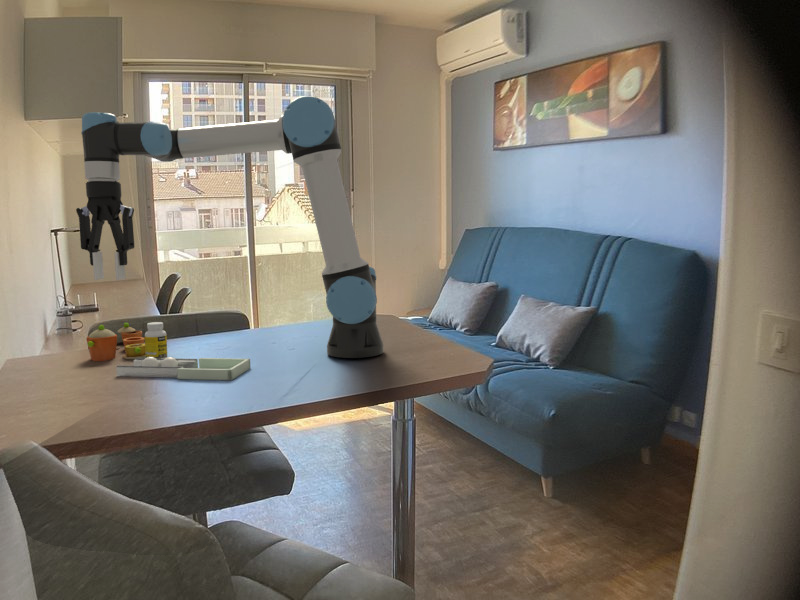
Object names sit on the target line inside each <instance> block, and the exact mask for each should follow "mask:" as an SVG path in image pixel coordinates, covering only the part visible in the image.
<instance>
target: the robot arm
mask: <svg viewBox="0 0 800 600" xmlns="http://www.w3.org/2000/svg"><path fill="white" fill-rule="evenodd" d="M80 134H81V137H82V147H83V163H84V177H85V179H86V180H88V181H86V182H85V191H86V198H87V203H86V206H83V207H76V209H75V213H76V214H77V217H78V222H79V237H80V239H79V240H80V249H82V250H84V251H87V252H89V262H90V266H92V267H93V268H92V269H93V278H94V280H95V281H97V280H104V279H105V275H104V260H103V259H104V258H103V252H102V251H101V249H100V245H101V240H102V239H101V238H102V234H103V233H102V232H103V227H104V224H105V221H107V224H108V225H109V227H110V230H111V234H112V237H113V240H114V244H115V247H116V250H115V252H114V253H113V255H114V267H115V268H114V269H115V280H116V281H119V280H125V279H126V269H125V267H126V266H127V265H128V254H127V253H128V251H130V250H133V249H135V236H134V233H135V232H134V221H133V219H134V218H133V217H134V213H135V208H134V207H132V206H131V207H129V206H126V205H124V204H123V201H122V185H121V182H119V180H121V171H120V170H121V169H120V168H121V167H120V156H144V157H148V158H151V159H155V160H158V161H159V162H166V163H168V162H175V161H176V160H182V159H191V158H201V157H202V158H203V157H204V158H206V157H216V156H217V157H218V156H225V155H228V156H229V155H237V154H250V153H262V152H263V153H264V152H275V151H283V152H284V153H286V154H291V155H292V160H293V162H294V163H295V164H297V165H299V166H300V167H301V169H302V172H303V177H304V181H305V185H306V189H307V190H306V191H307V193H308V198H309V201H310V202H309V203H310V206H311V209H312V214H313V218H314V222H315V227H316V230H317V234H318V238H319V241H320V246H321V250H322V255H323V258H324V263H325V267H324V269H323V271H322V272H321V277H322V281H323V282H322V283H323V286H324V289H325V292H326V293H325V294H326V297H325V298H326V301H325V302H326V303H325V304H326V307H327V310H328V311H329V313H330V315H331V316H332V328H331V330H330V334H329V337H328V340H327V344H326V354H327V355H328V356H331V357H336V358H343V359H344V358H346V359H361V358H370V357H375V356H379V355H381V354H383V353H384V343H383V338H382V336H381V333H380V330H379V327H378V324H377V303H378V301H377V300H378V299H377V284H376V283H377V282H376V281H377V275H376V274H377V273H376V269H375V268H374V267H372V266H369V262H368V261H367V260H365V259H363V258H362V257H361V255H360V250H359V246H358V241H357V237H356V232H355V228H354V225H353V220H352V217H351V213H350V208H349V203H348V199H347V195H346V191H345V187H344V184H343V183H344V182H343V179H342V178H343V177H342V174H341V170H340V167H339V162H338V159H339V157H340V155H341V153H342V147H341V142H340V138H339V135H338V134H339V133H338V125H337V121H336V119H335V115H334V112H333V110H332V108H331V106H329V104H328V103H327V102H325V101H324V100H323V99H321V98H319V97H316V96H312V95H303V96H298V97H297V98H294V99H293V100H292V101H291V102H290V103H288V104H287V106H286V108H285V109H284V112H283V114H281V116H280V117H279V118H278V119H273V120H272V119H271V120H261V121H260V120H258V121H249V122H238V123H227V124H226V123H225V124H214V125H204V126H202V125H201V126H192V127H189V126H188V127H183V128H182V127H180V128H169V125H167V124H166V123H164V122H156V121H144V122H142V121H139V122H138V121H137V122H136V121H135V122H119V121H118V120H117V117H116V115H115V114H114V113H113V114H112V113H109V112H100V111H99V112H98V111H97V112H96V111H95V112H94V111H91V112H85V113H84V114H83V115H82V116H81V133H80ZM120 214H121V219H120ZM90 215H91V217H90ZM121 220H122V221H121ZM121 222H122V223H121ZM121 224H122V226H121Z"/></svg>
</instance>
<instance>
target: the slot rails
mask: <svg viewBox="0 0 800 600" xmlns="http://www.w3.org/2000/svg"><path fill="white" fill-rule="evenodd" d="M145 358H146V357H144V358H136V359H132V360H133V361H132V362H133V365H126V364H125V365H118V364H117V365H116V377H129V378H130V377H136V378H137V377H138V378H140V377H141V378H142V377H143V378H177V379H178V375H177V369H178V368H192V369H197V368H199V359H198V358H175V359H176V360H177V362H178V367H177V366H161V363H162V361H163V360H164V359H165V358H156V359H157V360H158V363H159V366H142V362H143V360H144V359H145Z"/></svg>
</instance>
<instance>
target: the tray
mask: <svg viewBox="0 0 800 600" xmlns="http://www.w3.org/2000/svg"><path fill="white" fill-rule="evenodd" d="M250 369H251V358H228V357H227V358H226V357H225V358H224V357H223V358H221V357H220V358H218V357H216V358H215V357H214V358H213V357H199V358H198V368H197V369H192V368H178V369H177V375H178V378H177V380H193V381H194V380H198V381H199V380H201V381H203V380H204V381H233V380H235V378H238V377H239V376H241V375H242V374H243V373H245V372H247V371H249V370H250Z"/></svg>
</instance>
